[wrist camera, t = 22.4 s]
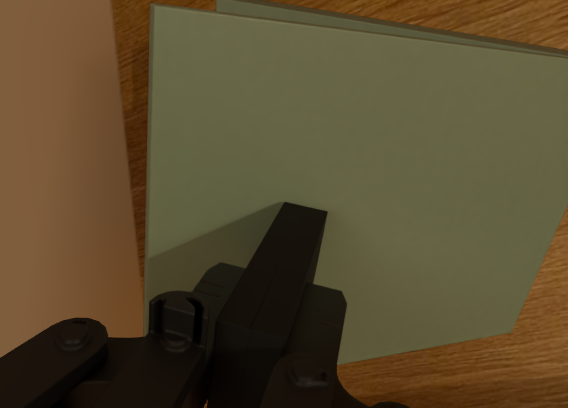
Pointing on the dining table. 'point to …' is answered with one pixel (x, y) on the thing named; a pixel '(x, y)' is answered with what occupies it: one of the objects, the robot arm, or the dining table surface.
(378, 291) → the chest lid
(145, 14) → the dining table surface
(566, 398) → the dining table surface
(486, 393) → the dining table surface
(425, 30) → the chest
